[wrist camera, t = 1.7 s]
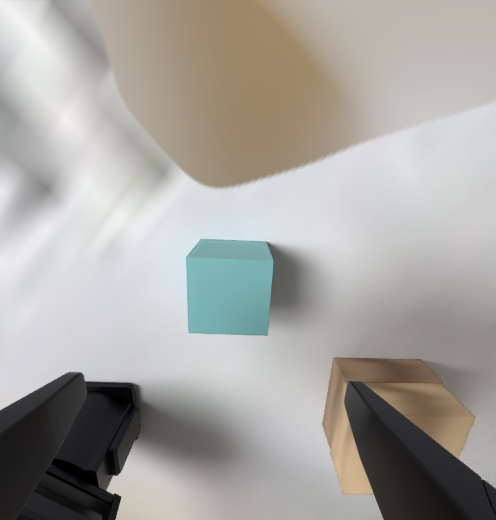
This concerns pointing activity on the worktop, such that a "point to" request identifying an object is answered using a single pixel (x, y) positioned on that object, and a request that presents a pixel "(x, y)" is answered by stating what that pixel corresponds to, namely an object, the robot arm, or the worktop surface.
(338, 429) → the oak slab
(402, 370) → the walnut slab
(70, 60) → the worktop surface
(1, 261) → the worktop surface
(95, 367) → the worktop surface
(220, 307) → the teal block
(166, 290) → the worktop surface
